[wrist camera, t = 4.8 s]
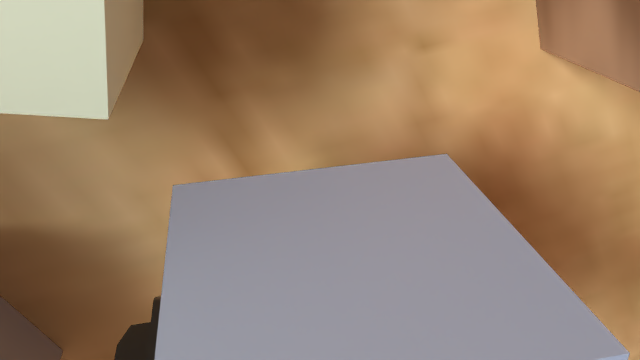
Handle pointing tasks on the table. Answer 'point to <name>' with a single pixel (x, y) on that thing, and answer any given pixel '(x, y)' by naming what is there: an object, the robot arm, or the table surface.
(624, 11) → the walnut block
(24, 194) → the table surface
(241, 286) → the slate blue block
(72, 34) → the sage block
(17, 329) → the charcoal block
